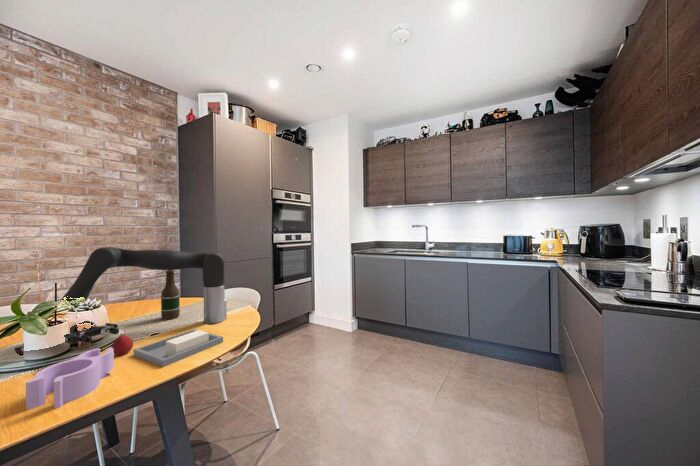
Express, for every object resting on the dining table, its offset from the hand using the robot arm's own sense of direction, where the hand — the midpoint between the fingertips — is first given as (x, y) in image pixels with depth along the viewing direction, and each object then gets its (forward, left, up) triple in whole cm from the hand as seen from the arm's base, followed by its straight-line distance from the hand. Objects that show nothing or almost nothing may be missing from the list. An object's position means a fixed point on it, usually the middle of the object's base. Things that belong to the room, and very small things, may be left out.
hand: (104, 335), depth 102 cm
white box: (-13, +29, -5) cm, 32 cm away
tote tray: (-13, +24, -6) cm, 28 cm away
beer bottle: (-34, -19, -6) cm, 39 cm away
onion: (-1, +10, -6) cm, 12 cm away
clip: (+14, +21, -6) cm, 26 cm away
